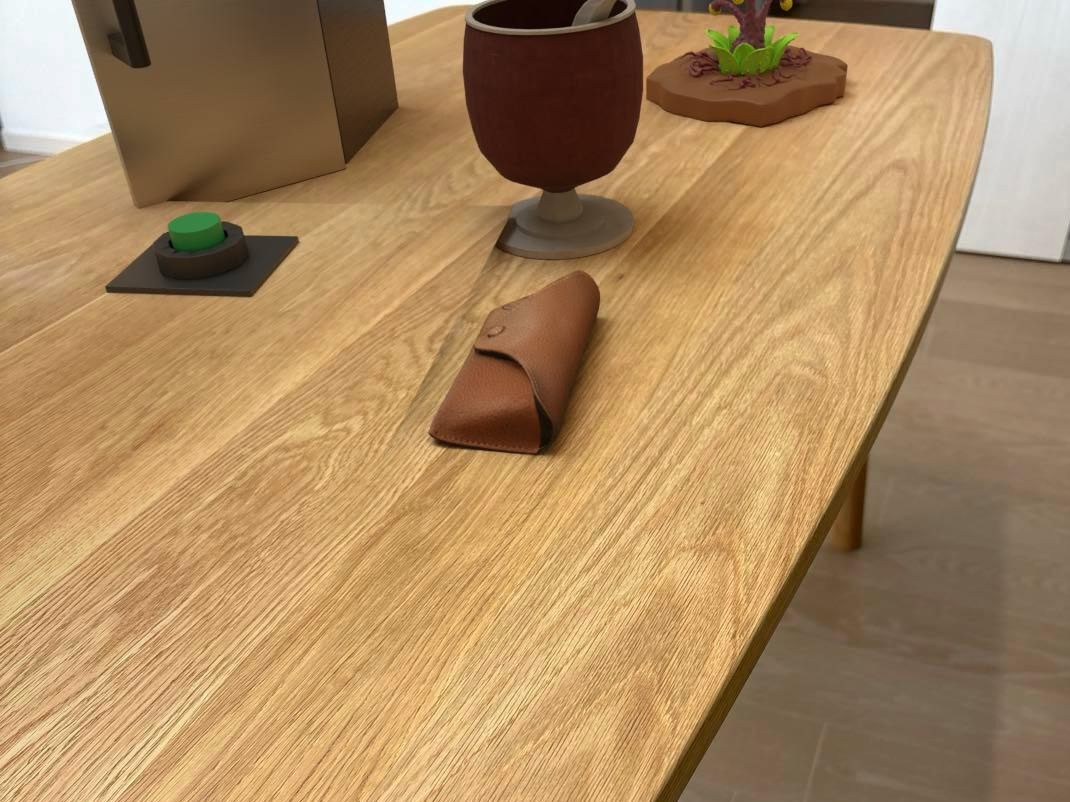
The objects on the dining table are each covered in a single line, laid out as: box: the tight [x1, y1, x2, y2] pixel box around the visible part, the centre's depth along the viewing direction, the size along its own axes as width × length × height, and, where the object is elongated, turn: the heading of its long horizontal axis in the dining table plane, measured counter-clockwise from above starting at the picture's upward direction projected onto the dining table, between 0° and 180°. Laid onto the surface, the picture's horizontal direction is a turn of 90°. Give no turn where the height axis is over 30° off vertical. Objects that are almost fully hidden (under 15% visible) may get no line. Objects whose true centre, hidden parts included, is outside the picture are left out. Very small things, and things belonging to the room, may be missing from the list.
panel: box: [105, 220, 300, 298], centre depth 85 cm, size 12×10×4 cm
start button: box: [167, 211, 225, 251], centre depth 83 cm, size 4×4×2 cm
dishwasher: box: [316, 0, 400, 166], centre depth 107 cm, size 18×20×24 cm
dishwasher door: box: [70, 0, 347, 210], centre depth 91 cm, size 7×20×24 cm, turn 124°
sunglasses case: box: [427, 269, 601, 455], centre depth 70 cm, size 18×7×7 cm, turn 169°
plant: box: [645, 0, 849, 128], centre depth 112 cm, size 20×20×11 cm
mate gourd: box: [462, 0, 644, 260], centre depth 84 cm, size 16×14×20 cm
